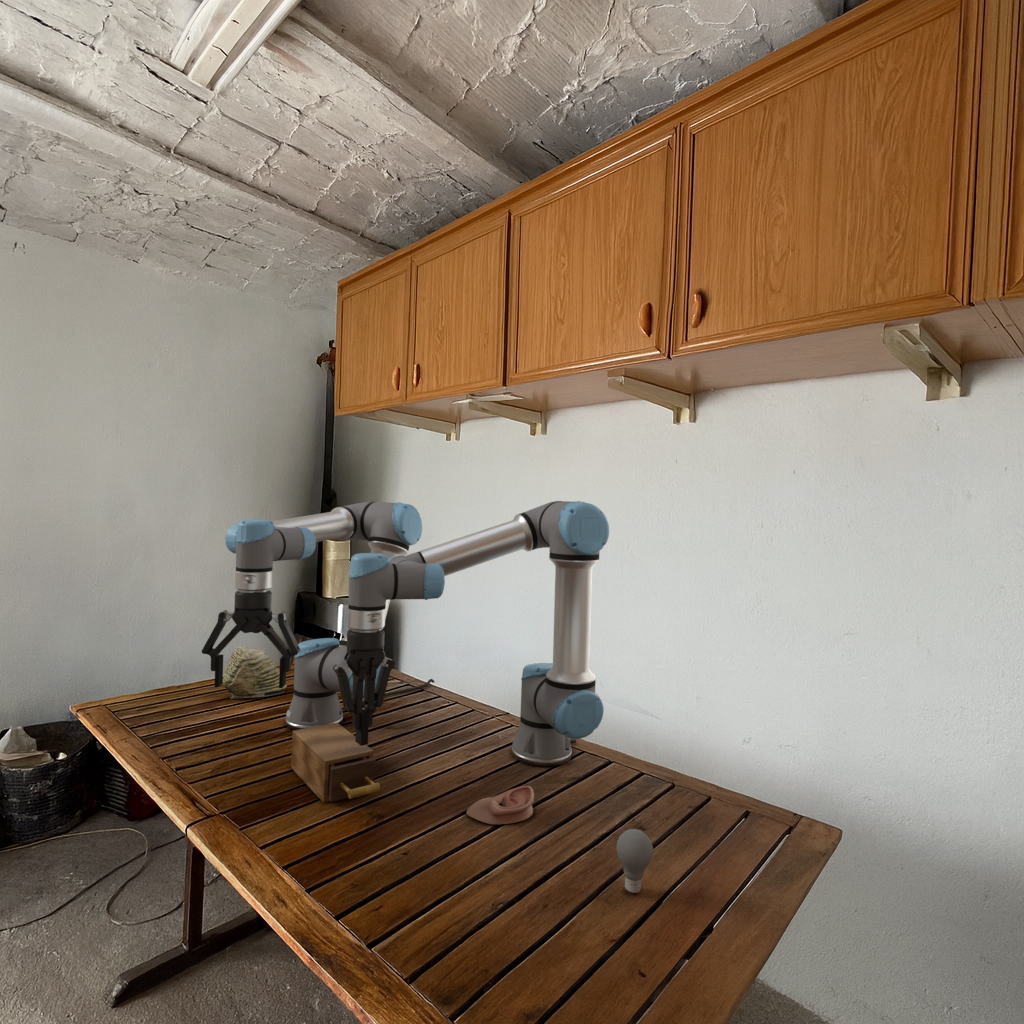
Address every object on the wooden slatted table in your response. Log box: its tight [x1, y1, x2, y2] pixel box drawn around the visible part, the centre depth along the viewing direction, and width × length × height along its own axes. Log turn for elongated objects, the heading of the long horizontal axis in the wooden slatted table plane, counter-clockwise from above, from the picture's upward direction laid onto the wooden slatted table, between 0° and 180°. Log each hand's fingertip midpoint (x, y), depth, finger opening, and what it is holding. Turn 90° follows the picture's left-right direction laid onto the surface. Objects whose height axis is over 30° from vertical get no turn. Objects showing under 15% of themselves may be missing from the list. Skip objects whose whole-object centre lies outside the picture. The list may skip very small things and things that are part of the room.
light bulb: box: [615, 828, 654, 894], centre depth 106 cm, size 6×6×10 cm
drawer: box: [328, 756, 381, 803], centre depth 138 cm, size 25×10×7 cm, turn 38°
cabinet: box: [290, 723, 374, 803], centre depth 142 cm, size 20×11×9 cm, turn 38°
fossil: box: [222, 646, 288, 699], centre depth 198 cm, size 9×18×15 cm, turn 132°
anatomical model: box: [465, 785, 535, 825], centre depth 130 cm, size 13×4×12 cm
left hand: (250, 686), depth 140 cm, fingers open, 13 cm apart
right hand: (361, 742), depth 130 cm, fingers closed
